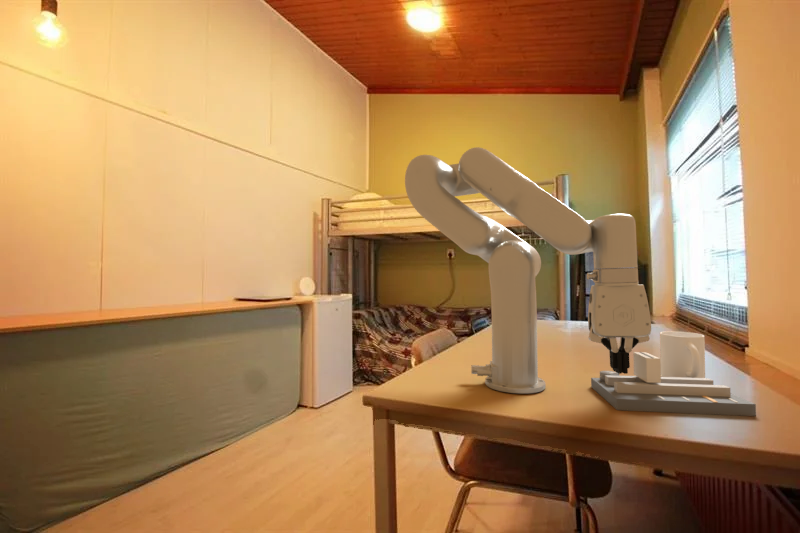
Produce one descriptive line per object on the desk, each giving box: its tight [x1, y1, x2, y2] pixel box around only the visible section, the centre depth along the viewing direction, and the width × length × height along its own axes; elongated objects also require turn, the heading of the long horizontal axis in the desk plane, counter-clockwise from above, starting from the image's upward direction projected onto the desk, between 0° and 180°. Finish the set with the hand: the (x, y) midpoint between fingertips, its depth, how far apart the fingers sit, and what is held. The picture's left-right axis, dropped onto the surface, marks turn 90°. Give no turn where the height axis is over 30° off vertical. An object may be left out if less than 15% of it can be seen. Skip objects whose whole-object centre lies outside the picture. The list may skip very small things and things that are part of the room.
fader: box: [632, 351, 662, 383], centre depth 75 cm, size 3×6×6 cm, turn 171°
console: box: [590, 370, 757, 417], centre depth 75 cm, size 22×14×4 cm, turn 81°
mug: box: [659, 330, 706, 378], centre depth 87 cm, size 12×8×10 cm
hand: (620, 371), depth 76 cm, fingers closed
